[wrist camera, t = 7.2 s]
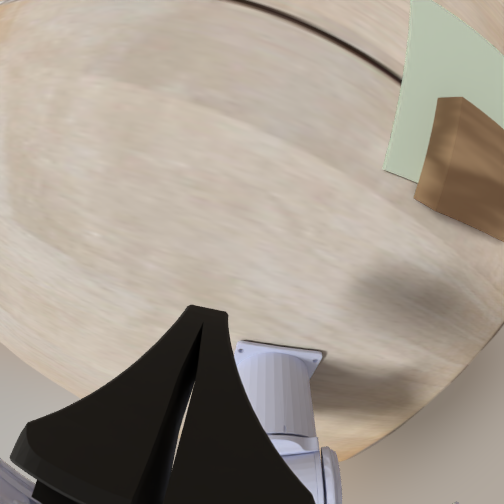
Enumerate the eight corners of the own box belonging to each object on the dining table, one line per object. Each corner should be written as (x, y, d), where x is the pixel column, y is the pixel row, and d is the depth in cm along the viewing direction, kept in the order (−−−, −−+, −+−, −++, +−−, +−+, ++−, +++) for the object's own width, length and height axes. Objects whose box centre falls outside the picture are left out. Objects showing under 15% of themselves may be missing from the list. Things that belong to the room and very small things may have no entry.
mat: (504, 225, 17) (506, 227, 17) (382, 169, 16) (384, 170, 16) (529, 85, 10) (531, 85, 10) (410, -9, 9) (413, -11, 9)
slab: (508, 244, 14) (532, 157, 11) (435, 210, 14) (462, 96, 10) (488, 230, 17) (510, 150, 14) (413, 197, 17) (437, 97, 13)
